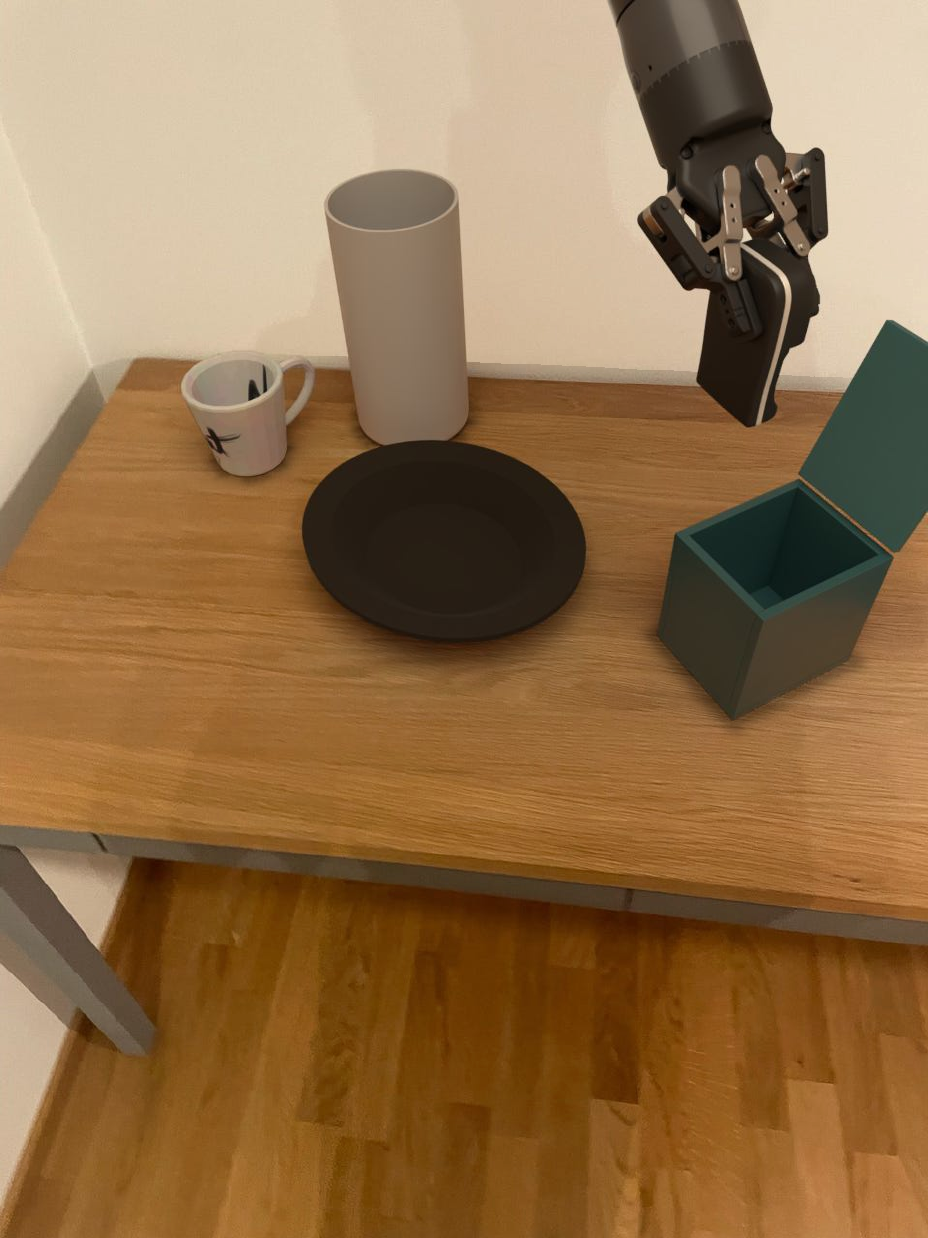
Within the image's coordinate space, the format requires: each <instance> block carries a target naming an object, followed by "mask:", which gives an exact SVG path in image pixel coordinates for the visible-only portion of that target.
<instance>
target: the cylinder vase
mask: <svg viewBox="0 0 928 1238" xmlns="http://www.w3.org/2000/svg"><path fill="white" fill-rule="evenodd" d="M324 198H325V199H324V201H323V209H324V216H325V222H326V228H327V235H328V239H329V240H328V241H329V246H330V247H329V248H330V252H331V259H332V265H333V271H334V278H335V284H336V289H337V296H338V301H339V302H338V303H339V307H340V309H339V310H340V314H341V320H342V326H343V334H344V338H345V347H346V351H347V358H348V363H349V370H350V376H351V381H352V388H353V389H352V390H353V394H354V401H355V407H356V413H357V419H358V424H359V425H360V428H361V429H362V431H363V433H364V434H365V435H366V436H367V437H368V438H369V439H370V440H372V441H374V442H375V443H376V444H379V445H381V446H385V445H389V444H394V443H400V442H406V441H417V440H445V441H450V440H451V439H453V438H454V437H455V436H456V435H457V434H459V432H460V431H462V429H463V428H464V426H465V424H466V423H467V421H468V417H469V414H470V401H469V383H468V381H469V380H468V362H467V360H468V359H467V341H466V340H467V339H466V321H465V319H466V318H465V303H464V302H465V300H464V299H465V298H464V281H463V280H464V279H463V261H462V258H463V257H462V240H461V239H462V238H461V222H460V221H461V220H460V218H461V217H460V201H459V199H460V198H459V191H458V188H457V187H456V185H455V184H454V183H452V181H451V180H449V179H448V178H446V177H444V176H442V175H439V174H436V173H434V172H430V171H425V170H421V169H411V168H390V169H380V170H375V171H369V172H366V173H362V174H358V175H355V176H353V177H350V178H348V179H346V180H344V181H342V182H341V183H339V184H337V185H336V186H335V187H333V188H332V189H331V190H330V191H329V192H328V193H327V194H326V197H324Z"/></svg>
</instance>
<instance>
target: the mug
mask: <svg viewBox="0 0 928 1238" xmlns="http://www.w3.org/2000/svg"><path fill="white" fill-rule="evenodd" d="M294 368H301V369H302V370H303V371H304V381H303V385H302V388H301V390H300V392H299V394H298V396H297V397H296V399H295V401H294V402H293V403H292V405H291V406H290V407H289V408H288V409H287V410H286V401H285V400H286V399H285V380H284V375H285V374H287V373H288V372H289V371H291V370H292V369H294ZM315 382H316V369H315V366H314V365H313V364H312V363H311V362H310V360H309V359H308V358H307V357H304V356H300V355H296V356H292V357H288V358H286V359H284V360H282V361H280V362H279V363H278V361H277V360H276V359H275V358H274V357H272V356H270V355H268V354H265V353H264V352H260V351H259V352H258V351H254V350H231V351H225V352H220V353H217V354H214V355H212V356H209V357H205V358H204V359H202V360H201V361H199V362H197V363H196V364H194V365H193V366H192V367H191V368H190V369H189V370H188V371H187V372H186V373H185V374H184V376H183V378H182V381H181V384H180V388H181V389H180V391H181V396H182V398H183V400H184V402H185V404H186V406H187V407H188V409H189V412H190V413H191V415H192V417H193V419H194V421H195V423H196V424H197V427H198V428H199V430H200V432H201V434H202V436H203V437H204V439H205V441H206V444H207V445H208V447H209V449H210V451H211V452H212V454H213V456H214V458H215V460H216V462H217V464H218V465H219V466H220V467H221V469H222V470H223V471H224V472H226V473H228V474H230V475H233V476H238V477H255V476H260V475H263V474H265V473H268V472H271V471H272V470H274V469H275V468H276V467H278V466H279V465H280V464H281V463H282V462H283V460H284V459H285V458H286V454H287V450H288V446H287V445H288V440H287V426H289V425H290V424H292V422H293V421H294V420H295V419H296V418H297V417H298V415H300V413H301V412H302V410H303V409H304V408H305V406H306V404H307V403H308V401H309V400H310V398H311V395H312V393H313V391H314V387H315Z"/></svg>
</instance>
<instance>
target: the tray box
mask: <svg viewBox="0 0 928 1238" xmlns="http://www.w3.org/2000/svg"><path fill="white" fill-rule="evenodd" d="M894 558H895V557H894V555H892V554H891V552H889V551H887V550H886V549H885V548H884V547H883V546H881V544H879V543H878V542H877V541H876V540H874V539H873V538H872V537H871V536H869V535H868V534H867V533H866V532H865V531H863V530H862V529H861V528H860V527H858V526H857V525H856V524H855V523H854V522H852V521H851V520H850V519H849V518H848V517H846V516H845V515H844V514H843V513H842V512H840V511H839V510H838V509H837V508H835V507H834V506H833V504H831V503H830V502H828V500H826V499H825V498H823V496H821V495H820V494H818V493H817V491H815V490H814V489H813V488H812V487H810V486H809V485H808V484H806V482H805V481H803V480H802V479H800V478H796V479H795V480H792V481H790V482H788V483H785V484H783V485H780V486H778V487H776V488H774V489H771V490H769V491H767V492H764V493H763V494H761V495H758V496H756V497H753V498H751V499H749V500H747V501H745V502H742V503H740V504H738V505H735V506H733V507H730V508H728V509H726V510H724V511H721V512H719V513H717V514H715V515H712V516H710V517H708V518H706V519H703V520H701V521H699V522H696V523H694V524H692V525H690V526H687V527H684V528H683V529H680V530H679V531H676V532H675V533H674V537H673V542H672V548H671V553H670V558H669V559H670V560H669V565H668V571H667V576H666V582H665V588H664V592H663V597H662V598H663V599H662V602H661V603H662V604H661V608H660V609H661V610H660V616H659V620H658V627H657V631H656V636H657V638H658V639H659V640H660V641H661V642H662V643H663V644H664V645H665V647H666V648H668V650H669V651H670V652H671V653H672V654H673V655H674V657H675V658H676V659H677V660H678V661H679V662H680V663H681V665H682V666H683V667H684V668H685V669H686V670H687V671H688V672H689V674H690V675H691V676H692V677H693V678H694V679H695V680H696V681H697V682H698V683H699V685H700V686H701V687H702V688H703V689H704V690H705V691H706V693H708V695H709V696H710V697H711V698H712V700H714V702H715V703H716V704H717V705H718V706H719V707H720V708H721V709H722V711H724V713H725V714H726V715H727V716H728V717H729V718H730V720H732V721H734V720H736V719H738V718H740V717H742V716H744V715H746V714H748V713H750V712H752V711H754V710H756V709H757V708H760V707H761V706H763V705H765V704H767V703H769V702H771V701H773V700H775V699H777V698H778V697H779V698H780V697H781V696H782V695H784V694H786V693H788V692H790V691H793V690H794V689H796V688H798V687H800V686H801V685H804V684H805V683H808V682H810V681H812V680H814V679H816V678H817V677H819V676H821V675H823V674H825V673H827V672H829V671H831V670H833V669H835V668H836V667H839V666H840V665H843V664H844V663H846V662H848V661H850V658H851V656H852V654H853V651H854V649H855V647H856V645H857V643H858V641H859V638H860V636H861V633H862V631H863V629H864V626H865V625H866V622H867V619H868V617H869V615H870V613H871V611H872V609H873V606H874V604H875V601H876V600H877V598H878V595H879V593H880V591H881V588H882V586H883V584H884V582H885V579H886V576H887V574H888V572H889V570H890V567H891V565H892V564H893V561H894Z"/></svg>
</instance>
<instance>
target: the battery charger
mask: <svg viewBox="0 0 928 1238" xmlns="http://www.w3.org/2000/svg"><path fill="white" fill-rule="evenodd" d="M740 252H741V262H742V276H741V278H740V280H744V279H747V281H748V284H749V287H750V289H751V292H752V295H753V298H754V301H755V304H756V307H757V310H758V313H759V316H760V319H761V322H762V325H763V334H762V336H760V337H758V338H756V339H754V340H752V341H749V342H747V343H744V344H741V345H740V344H738V343H737V342H736V341H735V338H731V337H730V335H729V334H728V333H727V331H726V328H725V325H724V322H723V319H722V316H721V313H720V310H719V308H718V305H717V302H716V299H715V296H714V295H713V293H712V292H710V291H709V294H708V301H707V307H706V314H705V321H704V329H703V336H702V345H701V350H700V356H699V362H698V367H697V372H696V378H695V382H696V383H697V385H699V386H700V387H701V389H703V390H704V392H705V393H707V394H708V396H710V397H711V398H712V399H713V400H714V401H715V402H716V403H717V404H718V405H719V406H721V407H722V408H723V410H725V411H726V412H727V413H729V414H730V415H731V417H733V419H735V420H736V421H737V422H739V423H740V424H741V425H743V426H744V427H745V428H747V429H748V428H757V427H759V426H761V425H762V424H764V423H766V422H769V421H770V420H771V419H773V418H775V416H776V414H777V413H778V408H779V407H778V404H777V403H776V402H775V394H776V393H775V392H776V388H777V384H778V380H779V377H780V374H781V371H782V367H783V364H784V362H785V359H786V357H788V354H789V353H790V349H794V348H796V347H798V346H800V345H802V344H803V343H804V342H805V340H806V337H807V334H808V330H809V325H810V322H811V318H812V317H811V313H812V308H813V303H814V299H815V293H816V285H817V281H816V277H815V275H814V272H813V271H812V272H811V270H812V269H811V270H810V269H809V268H808V267H807V266H806V265H805V264H804V263H802V262H801V261H799V260H798V259H797V258H795V257H794V256H793V255H791V254H790V253H789V252H787V251H786V250H784V249H783V248H781V247H779V246H778V245H776V244H775V243H773V242H772V241H770V240H767V239H765V238H757V239H752V238H750V239H748V240H746V241H741V243H740ZM810 317H811V318H810Z"/></svg>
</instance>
